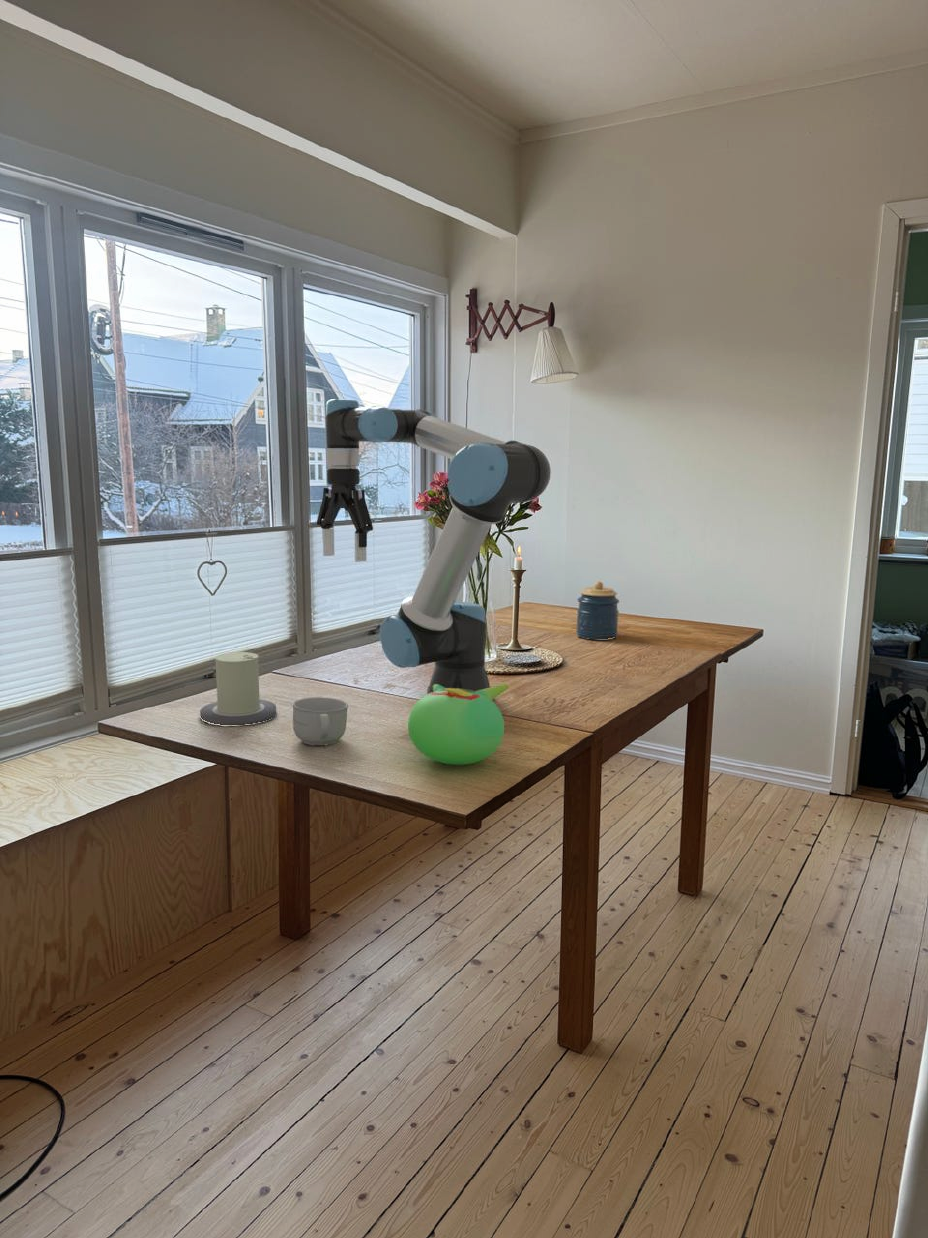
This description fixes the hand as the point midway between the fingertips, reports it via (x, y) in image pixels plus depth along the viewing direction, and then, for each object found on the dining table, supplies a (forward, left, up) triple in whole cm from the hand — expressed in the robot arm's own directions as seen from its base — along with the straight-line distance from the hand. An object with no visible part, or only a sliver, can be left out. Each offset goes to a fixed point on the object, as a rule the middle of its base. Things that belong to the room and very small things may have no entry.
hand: (344, 558), depth 208 cm
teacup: (-32, +27, -32) cm, 53 cm away
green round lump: (-56, +12, -32) cm, 65 cm away
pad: (-5, +31, -32) cm, 45 cm away
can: (-5, +31, -30) cm, 43 cm away
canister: (+2, -95, -32) cm, 100 cm away
